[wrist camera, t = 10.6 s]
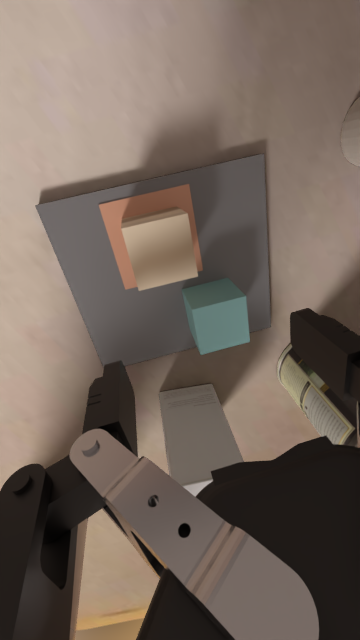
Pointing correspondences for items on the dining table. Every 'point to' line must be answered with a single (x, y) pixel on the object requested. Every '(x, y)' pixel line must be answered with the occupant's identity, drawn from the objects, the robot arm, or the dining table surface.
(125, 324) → the baseplate
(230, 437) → the supplement box
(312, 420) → the coffee can
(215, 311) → the teal block
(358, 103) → the coffee cup
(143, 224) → the ash block
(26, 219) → the dining table surface
